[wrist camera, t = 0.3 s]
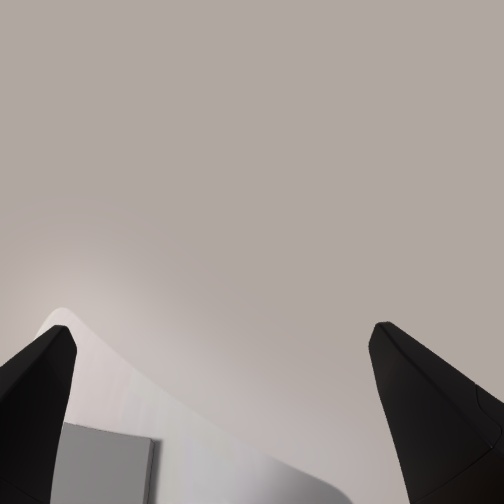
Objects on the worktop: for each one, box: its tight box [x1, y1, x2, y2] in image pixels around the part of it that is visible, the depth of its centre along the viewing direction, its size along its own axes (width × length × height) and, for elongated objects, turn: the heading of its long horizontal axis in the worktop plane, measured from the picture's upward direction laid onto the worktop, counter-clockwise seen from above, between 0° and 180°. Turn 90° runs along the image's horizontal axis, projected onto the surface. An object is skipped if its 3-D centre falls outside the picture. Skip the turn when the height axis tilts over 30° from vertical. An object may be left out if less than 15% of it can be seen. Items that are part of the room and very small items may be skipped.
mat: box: [50, 422, 154, 504], centre depth 15 cm, size 8×8×1 cm
